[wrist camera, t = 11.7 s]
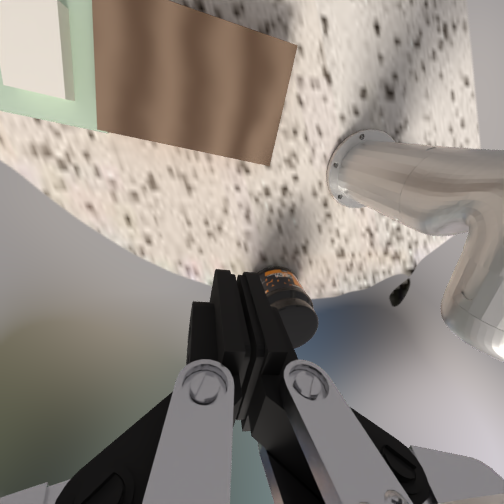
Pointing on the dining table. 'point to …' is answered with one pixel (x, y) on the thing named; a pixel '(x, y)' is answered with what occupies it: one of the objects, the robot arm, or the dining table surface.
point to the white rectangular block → (36, 47)
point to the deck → (188, 78)
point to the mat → (83, 75)
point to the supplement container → (290, 303)
